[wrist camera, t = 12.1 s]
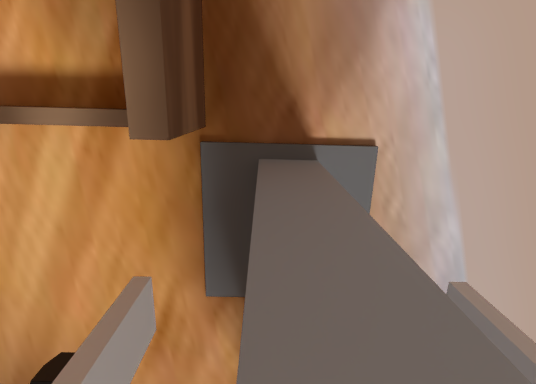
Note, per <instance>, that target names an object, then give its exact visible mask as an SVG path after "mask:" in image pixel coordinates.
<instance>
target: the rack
mask: <svg viewBox="0 0 536 384" xmlns="http://www.w3.org/2000/svg"><path fill="white" fill-rule="evenodd" d="M116 10H117V20H118V30H119V39H120V49H121V59H122V68H123V78H124V88H125V98H126V107H127V109H107V108H71V107H36V106H0V124H34V125H71V126H108V127H129V137H130V139H144V140H171V139H173V138H176V137H179V136H181V135H184V134H187V133H190V132H192V131H195V130H198V129H201V128H203V127H206V125H205V93H204V61H203V28H202V0H116Z"/></svg>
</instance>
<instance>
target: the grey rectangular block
mask: <svg viewBox="0 0 536 384" xmlns="http://www.w3.org/2000/svg"><path fill="white" fill-rule="evenodd" d="M237 384H532V383H531V382H530V381H529V380H528V379H527V378H526V377H525V376H524V375H523V374H522V373H521V372H520V371H519V370H518V369H517V368H516V367H515V366H514V365H513V364H512V363H511V361H510V360H509V359H508V358H507V357H506V356H505V355H504V354H503V353H502V352H501V351H500V350H499V349H498V348H497V347H496V346H495V345H494V344H493V343H492V342H491V341H490V340H489V339H488V338H487V336H486V335H485V334H484V333H483V332H482V331H481V330H480V329H479V328H478V327H477V326H476V325H475V324H474V323H473V322H472V321H471V320H470V319H469V318H468V317H467V316H466V315H465V314H464V313H463V311H462V310H461V309H460V308H459V307H458V306H457V305H456V304H455V303H454V302H453V301H452V300H451V299H450V298H449V297H448V296H447V295H446V294H445V293H444V292H443V291H442V290H441V289H440V288H439V286H438V285H437V284H436V283H435V282H434V281H433V280H432V279H431V278H430V277H429V276H428V275H427V274H426V273H425V272H424V271H423V270H422V269H421V268H420V267H419V266H418V265H417V264H416V263H415V261H414V260H413V259H412V258H411V257H410V256H409V255H408V254H407V253H406V252H405V251H404V250H403V249H402V248H401V247H400V246H399V245H398V244H397V243H396V242H395V241H394V240H393V239H392V238H391V237H390V235H389V234H388V233H387V232H386V231H385V230H384V229H383V228H382V227H381V226H380V225H379V224H378V223H377V222H376V221H375V220H374V219H373V218H372V217H371V216H370V215H369V214H368V213H367V212H366V210H365V209H364V208H363V207H362V206H361V205H360V204H359V203H358V202H357V201H356V200H355V199H354V198H353V197H352V196H351V195H350V194H349V193H348V192H347V191H346V190H345V189H344V188H343V187H342V185H341V184H340V183H339V182H338V181H337V180H336V179H335V178H334V177H333V176H332V175H331V174H330V173H329V172H328V171H327V170H326V169H325V168H324V167H323V166H322V165H321V164H320V163H319V162H318V160H282V159H259V164H258V174H257V184H256V194H255V204H254V214H253V224H252V234H251V244H250V254H249V264H248V274H247V284H246V294H245V304H244V314H243V324H242V335H241V345H240V355H239V365H238V375H237Z"/></svg>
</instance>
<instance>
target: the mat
mask: <svg viewBox="0 0 536 384" xmlns="http://www.w3.org/2000/svg"><path fill="white" fill-rule="evenodd" d="M200 145H201V172H202V200H203V227H204V254H205V282H206V296H214V297H245V294H246V284H247V274H248V264H249V254H250V244H251V234H252V224H253V214H254V204H255V194H256V184H257V174H258V164H259V159H282V160H318V162H319V163H320V164H321V165H322V166H323V167H324V168H325V169H326V170H327V171H328V172H329V173H330V174H331V175H332V176H333V177H334V178H335V179H336V180H337V181H338V182H339V183H340V184H341V185H342V187H343V188H344V189H345V190H346V191H347V192H348V193H349V194H350V195H351V196H352V197H353V198H354V199H355V200H356V201H357V202H358V203H359V204H360V205H361V206H362V207H363V208H364V209H365V210H366V212H367V213H368V214H369V213H370V206H371V198H372V191H373V183H374V175H375V168H376V160H377V153H378V147H377V146H354V145H316V144H278V143H240V142H200Z"/></svg>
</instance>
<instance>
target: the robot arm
mask: <svg viewBox="0 0 536 384" xmlns="http://www.w3.org/2000/svg"><path fill="white" fill-rule="evenodd" d="M446 295H447V296H448V297H449V298H450V299H451V300H452V301H453V302H454V303H455V304H456V305H457V306H458V307H459V308H460V309H461V310H462V311H463V313H464V314H465V315H466V316H467V317H468V318H469V319H470V320H471V321H472V322H473V323H474V324H475V325H476V326H477V327H478V328H479V329H480V330H481V331H482V332H483V333H484V334H485V335H486V336H487V338H488V339H489V340H490V341H491V342H492V343H493V344H494V345H495V346H496V347H497V348H498V349H499V350H500V351H501V352H502V353H503V354H504V355H505V356H506V357H507V358H508V359H509V360H510V361H511V363H512V364H513V365H514V366H515V367H516V368H517V369H518V370H519V371H520V372H521V373H522V374H523V375H524V376H525V377H526V378H527V379H528V380H529V381H530V382H531V383H532V384H536V343H535V342H534V341H533V340H532V339H530V338H529V337H528V336H527V335H526V334H525V333H523V332H522V331H521V330H520V329H519V328H518V327H516V326H515V325H514V324H513V323H512V322H511V321H510V320H509V319H508V318H506V317H505V316H504V315H503V314H502V313H501V312H500V311H498V310H497V309H496V308H495V307H494V306H493V305H492V304H490V303H489V302H488V301H487V300H486V299H485V298H484V297H482V296H481V295H480V294H479V293H478V292H477V291H475V290H474V289H473V288H472V287H471V286H470V285H469V284H468V283H467V282H449V285H448V289H447V294H446ZM155 331H156V321H155V311H154V300H153V290H152V279H151V277H136V276H134V277H133V278H132V279H131V280H130V282H129V283H128V284H127V286H126V287H125V288H124V290H123V291H122V292H121V294H120V295H119V296H118V297H117V299H116V300H115V301H114V303H113V304H112V305H111V307H110V308H109V309H108V311H107V312H106V313H105V315H104V316H103V317H102V318H101V320H100V321H99V322H98V324H97V325H96V326H95V328H94V329H93V330H92V332H91V333H90V334H89V335H88V337H87V338H86V339H85V341H84V342H83V343H82V345H81V346H80V347H79V349H78V350H77V351H76V353H69V352H61V353H60V354H58V355H57V356H56V357H54V358H53V359H52V360H50V361H49V362H48V363H46V364H45V365H44V366H43V367H42V368H41V369H40V371H39V372H38V373H37V374H36V375H35V377H34V378H33V379H32V380H31V382H30V384H130V383H131V381H132V379H133V377H134V374H135V372H136V370H137V368H138V366H139V364H140V362H141V360H142V358H143V356H144V354H145V352H146V350H147V347H148V345H149V343H150V341H151V339H152V337H153V335H154V333H155Z"/></svg>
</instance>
